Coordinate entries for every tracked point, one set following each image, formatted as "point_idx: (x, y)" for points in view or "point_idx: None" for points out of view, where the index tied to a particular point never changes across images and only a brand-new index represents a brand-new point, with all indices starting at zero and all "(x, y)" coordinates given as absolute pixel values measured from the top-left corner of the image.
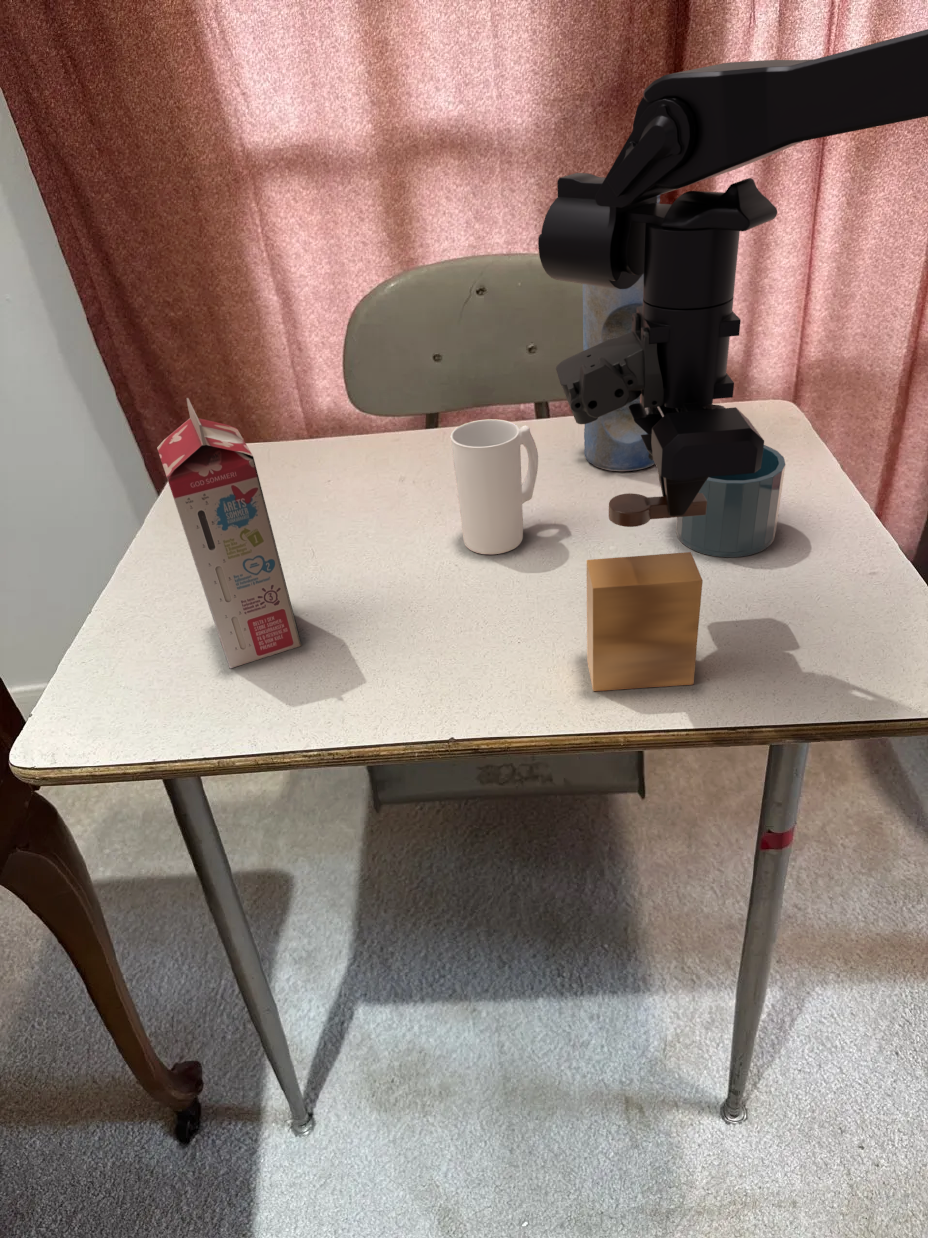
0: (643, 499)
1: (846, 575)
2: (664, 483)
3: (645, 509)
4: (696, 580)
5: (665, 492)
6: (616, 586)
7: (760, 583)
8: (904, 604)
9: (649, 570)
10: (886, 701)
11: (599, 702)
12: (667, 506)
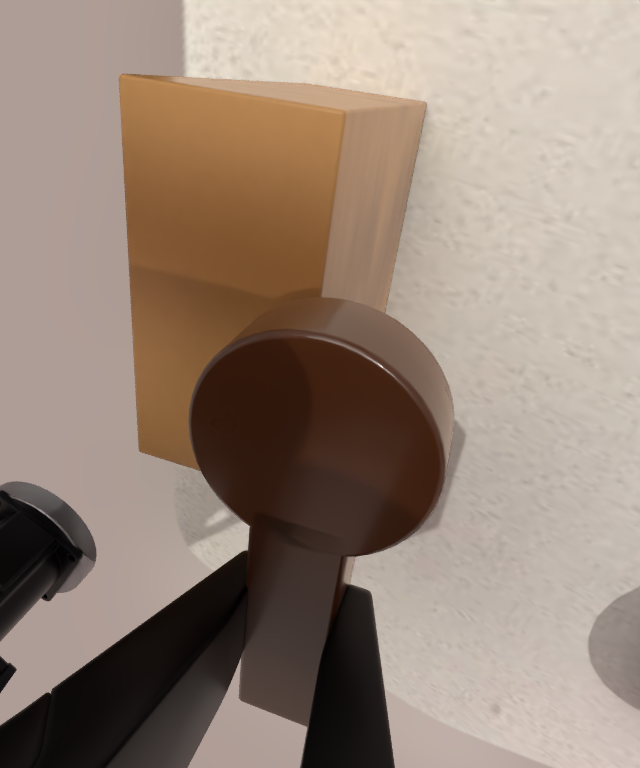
0: (328, 530)
1: (509, 683)
2: (150, 686)
3: (213, 487)
4: (138, 436)
5: (206, 637)
6: (124, 181)
7: (557, 576)
8: (398, 682)
9: (209, 337)
10: (202, 533)
11: None
12: (245, 578)
